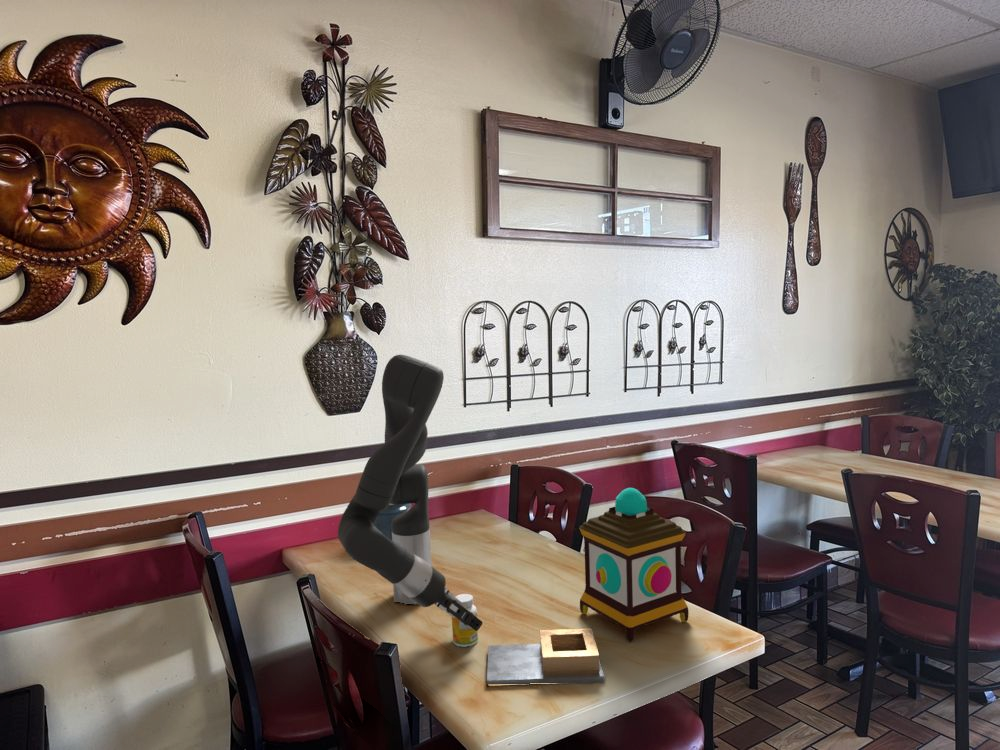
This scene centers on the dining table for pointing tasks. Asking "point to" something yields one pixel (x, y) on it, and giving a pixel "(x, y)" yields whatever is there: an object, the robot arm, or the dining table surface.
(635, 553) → the decorative lantern
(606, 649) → the dining table surface
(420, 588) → the robot arm
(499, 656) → the jig
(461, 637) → the supplement bottle
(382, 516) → the canister
